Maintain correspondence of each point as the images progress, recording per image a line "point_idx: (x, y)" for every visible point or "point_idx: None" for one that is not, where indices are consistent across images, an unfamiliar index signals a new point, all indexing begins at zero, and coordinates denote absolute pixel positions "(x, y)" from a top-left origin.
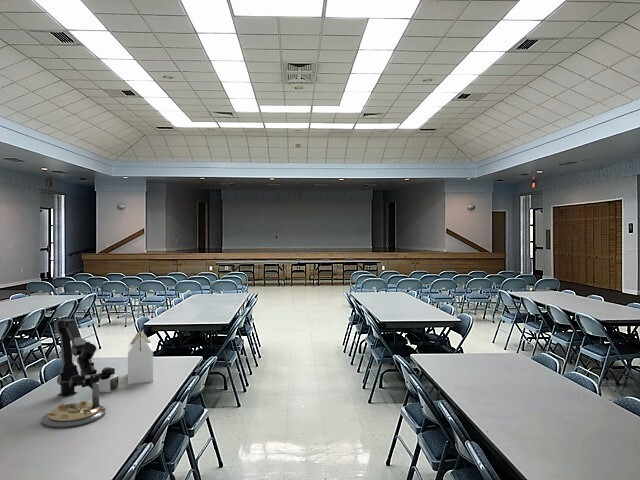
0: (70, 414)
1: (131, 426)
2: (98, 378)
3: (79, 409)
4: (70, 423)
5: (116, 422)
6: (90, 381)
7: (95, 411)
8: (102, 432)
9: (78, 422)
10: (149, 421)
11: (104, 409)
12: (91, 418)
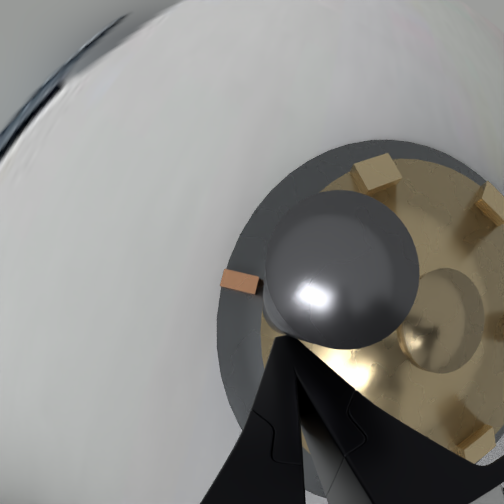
0: (464, 244)
1: (198, 33)
2: (215, 500)
3: (420, 277)
4: (449, 163)
5: (230, 88)
6: (421, 436)
7: (319, 192)
8: (314, 38)
9: (415, 147)
10: (123, 48)
11: (232, 272)
12: (348, 157)
